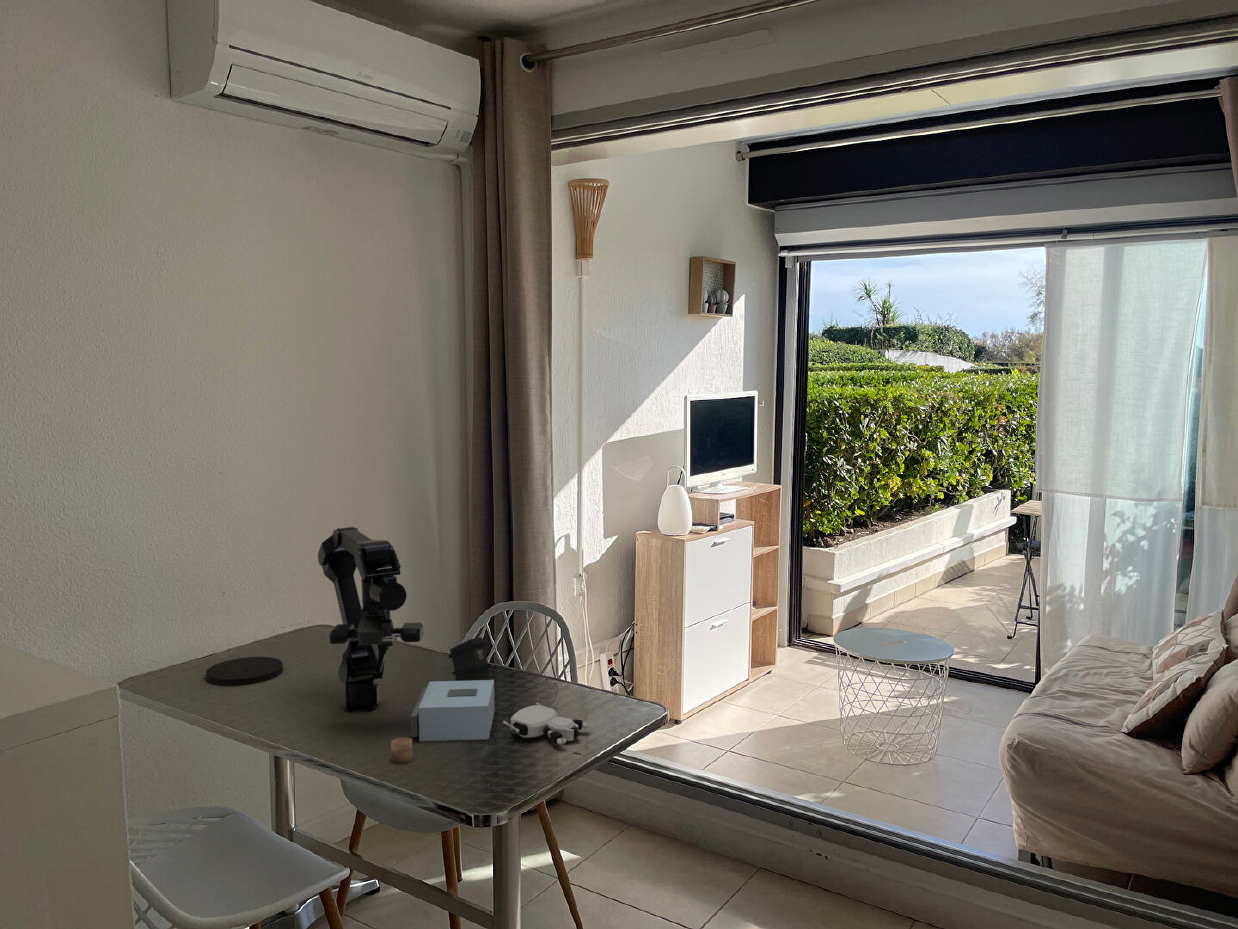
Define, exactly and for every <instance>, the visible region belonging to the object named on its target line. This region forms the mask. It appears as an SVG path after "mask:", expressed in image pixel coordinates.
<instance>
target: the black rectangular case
mask: <svg viewBox="0 0 1238 929" xmlns="http://www.w3.org/2000/svg"><path fill="white" fill-rule="evenodd" d="M486 645H487V643H486V641H485V640H484V641H483V638H482V636H478V637H476V638H474V637H473V638H470V639H469V640H466V641H464V642H462V643H460V644H458V645H456V646H453V647H452V648H450V649H449V652H450V654H449V655H448V658H449V659H451V660H452V661H451V662H452V664H453V670H454V671H452V676H454V677H455V681H474V680H491V676H490V670H489V669H491V668H492V666H491V663H490V662H489V663H488V659H487V658H488V657H487V652H486V649H485V646H486Z"/></svg>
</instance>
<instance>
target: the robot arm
mask: <svg viewBox="0 0 1238 929" xmlns="http://www.w3.org/2000/svg"><path fill="white" fill-rule="evenodd" d="M396 552H397V551H396V550H395V548H394V546H393V545H392V544H391V542H389V540H385V539H371V538H370V537H368V536H367V535H365V534H363V533H362V532H360V531H359V529H358V528H357V527H354V526H350V527H349V526H348V527H341V528H340V527H339V528H337V529H334V530H333V531H332V534H331V535H330V536H329V537H328V538H326V539H325V540H323V541H322V542H321V543H320V546H319V550H318V553H317V561H318V564H319V565H320V566H321V568H322V572H323V575H324V576H325V577H326V578H327V579H329V581H331V582H332V583H333V586H334V590H335V595H336V601H337V604H338V607H339V608H338V609H339V613H340V617H341V622H342V623H340V624H339V623H338V624H336V625H334V627H333V628H332V629H331V630H330V632H329V644H331V645H345V647H344V649H343V652H342V660H341V663H340V666H339V668H338V670H337V673H338V680H339V682H341V683H342V684H343V685H344V687H345V707H344V708H343V711H344V712H357V711H359V712H360V711H361V712H363V711H374V710H375V708H376V707H377V705H378V704H379V702H380V684H379V683H378V682H377V680H379V679H383V676H384V671H385V670H384V669H385V659H386V656H387V654H388V650H389V648H390V647H392V646H394V644H395V643H396V641H397V639H398V638H400V640H402V641H403V642H404V643H417V642H421V640H422V639H423V636H424V633H425V632H424V625H423V623H422V622H404V624H403V625H402V626H401V627H394V623H393V619H391V611H397V610H399V609H401V607H403V605H404V604H406V603H405V602H406V600H407V591H406V589H405V587H404V586H403V585H402V584H400V583H399V582H398V580H397V576H400V575H401V567H402V566H401V563H400V560H399V558H398V556H397V553H396ZM356 570H357V571H358V573H359V576H360V577H361V600H360V597H359V592H358V589H357V584H356V580H355V572H356ZM361 604H362V605H361ZM345 643H346V644H345Z"/></svg>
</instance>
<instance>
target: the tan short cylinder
mask: <svg viewBox="0 0 1238 929" xmlns="http://www.w3.org/2000/svg"><path fill="white" fill-rule="evenodd" d="M390 753H391V754H390V755H391V756H390V757H391V762H392V763H395V764H406V763H409V762H411V761H412V760H413V756H414V755H413V739H412V738H411V737H405V736H404V737H396V738H394V739H392V740H391V741H390Z"/></svg>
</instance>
